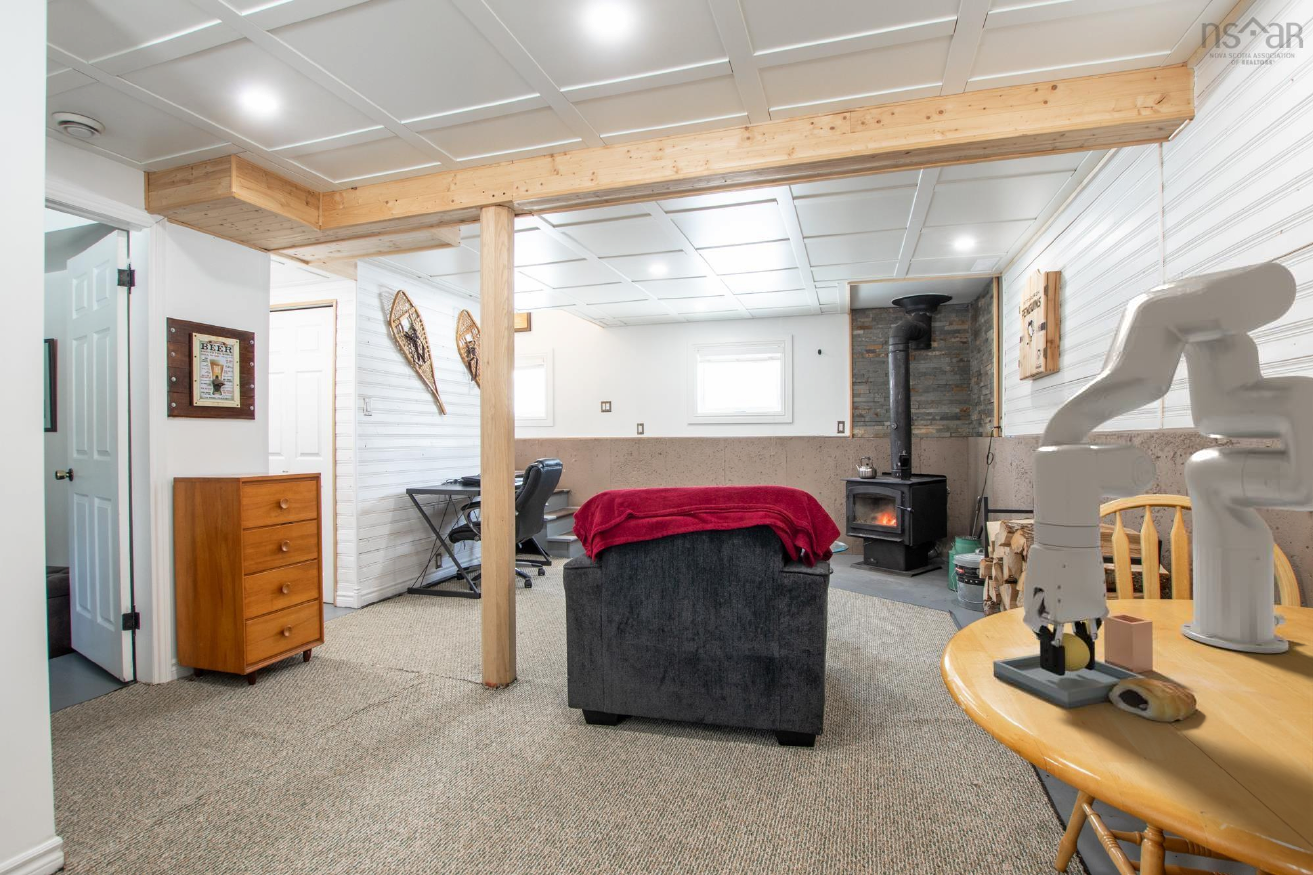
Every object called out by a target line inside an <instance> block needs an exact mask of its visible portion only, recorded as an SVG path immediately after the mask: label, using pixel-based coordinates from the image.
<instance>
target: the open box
mask: <svg viewBox="0 0 1313 875" xmlns="http://www.w3.org/2000/svg"><path fill="white" fill-rule="evenodd" d="M1103 629H1104V630H1103V631H1104V632H1103V635H1104V636H1103V637H1104V638H1103V639H1104V640H1103V644H1104V646H1103V647H1104V648H1103V649H1104V654H1103V655H1104V659H1103V660H1104V663H1107V664H1109V665H1112V666H1115V667H1118V668H1121V669H1124V670H1126V671H1129V672H1132V673H1135V674H1137V673H1143V672H1148V671H1153V670H1154V667H1153V665H1154V661H1153V660H1154V655H1153V654H1154V653H1153V652H1154V650H1153V644H1154V643H1153V641H1154V639H1153V621H1152V620H1149V619H1145V618H1142V617H1138V616H1135V615H1131V614H1127V613H1118V614H1117V613H1116V614H1112V615H1108V616H1107V617H1106V618H1105V619H1104V620H1103Z"/></svg>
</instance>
